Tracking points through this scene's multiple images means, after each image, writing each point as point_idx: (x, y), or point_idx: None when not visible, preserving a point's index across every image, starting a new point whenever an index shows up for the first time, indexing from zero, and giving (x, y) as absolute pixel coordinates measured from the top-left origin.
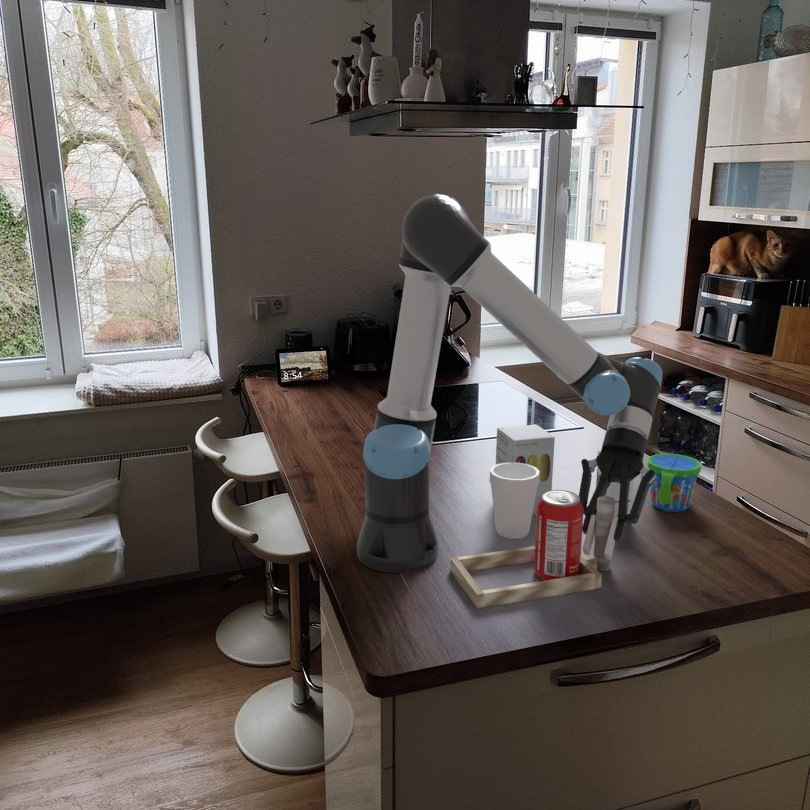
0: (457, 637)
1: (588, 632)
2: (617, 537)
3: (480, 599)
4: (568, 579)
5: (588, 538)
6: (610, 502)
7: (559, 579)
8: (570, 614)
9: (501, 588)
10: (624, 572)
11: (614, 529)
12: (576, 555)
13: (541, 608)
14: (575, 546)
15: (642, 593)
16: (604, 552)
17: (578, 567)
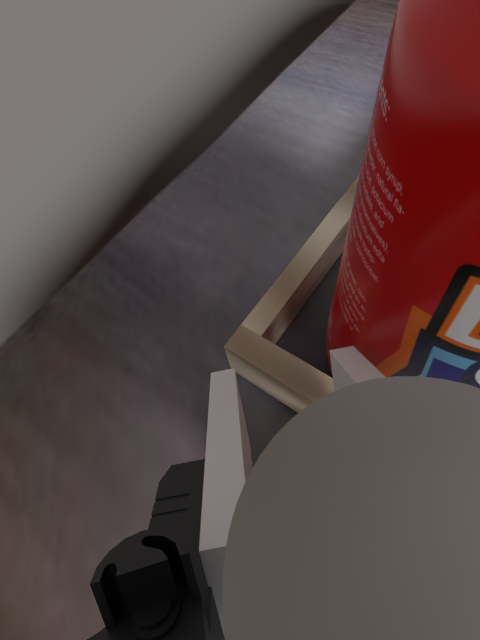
0: (377, 52)
1: (174, 185)
2: (185, 469)
3: None
4: (307, 247)
5: (360, 376)
6: (278, 481)
7: (330, 230)
8: (243, 213)
9: None
10: None
11: (206, 468)
12: (337, 279)
13: (318, 193)
14: (346, 236)
15: (95, 443)
16: (233, 369)
17: (330, 340)
